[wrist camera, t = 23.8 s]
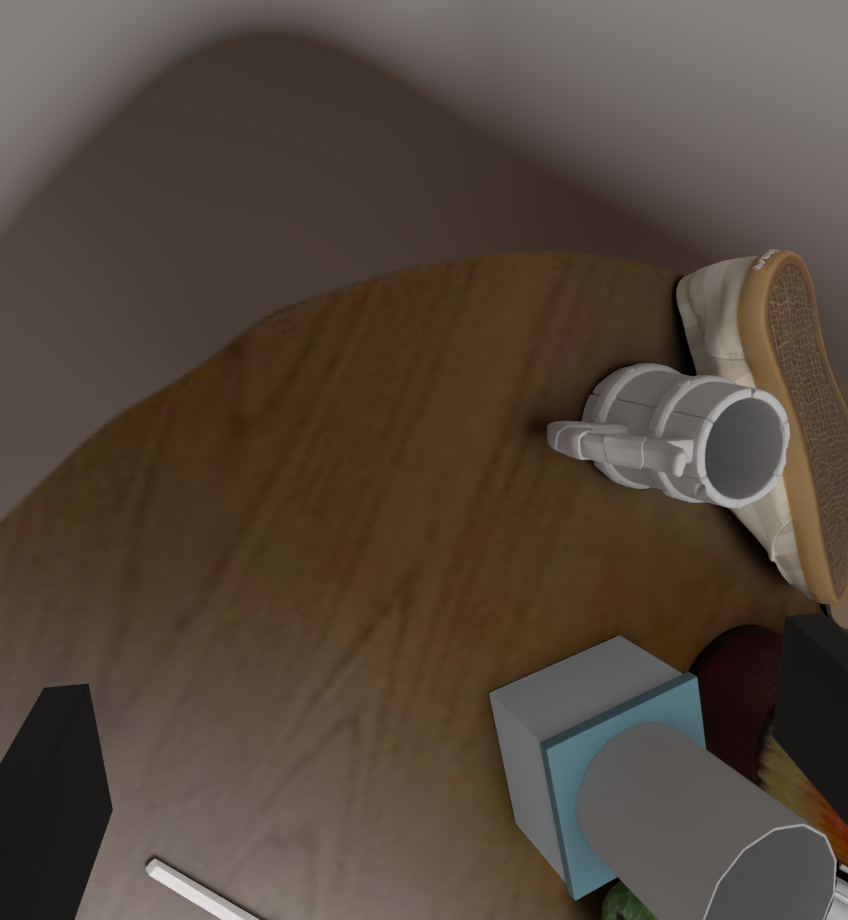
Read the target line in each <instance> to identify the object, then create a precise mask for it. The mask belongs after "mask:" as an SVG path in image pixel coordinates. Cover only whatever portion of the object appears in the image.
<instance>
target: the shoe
mask: <svg viewBox="0 0 848 920" xmlns="http://www.w3.org/2000/svg"><path fill="white" fill-rule="evenodd" d="M676 298H677V304H678V308H679V311H680V314H681V316H682V320H683V325H684V329H685V334H686V339H687V342H688V345H689V349H690V352H691V355H692V358H693V361H694V364H695V369H696V373H697V375H712V376H719V377H723V378H726V379H728V380H730V381H733V382H735V383H736V384H738V385H741V386H746V387H751V388H756V389H760V390H763V391H766V392H768V393H769V394H771V395H772V396H774V397H775V398H776V399H777V400H778V401H779V402H780V404H781V405H782V407H783V408H784V410H785V412H786V415H787V418H788V419H787V421H788V423H789V429H790V439H789V442H788V448H786V464H785V466H784V469H783V472H782V475H781V477H778V478H779V480H778V482H777V484H776V485H775V486H774V487H773V489H772V490H771V491H770V492H768V493H767V494H766V495H765V496H763V497H762V498H761V499H759V500H757V501H755V502H752V503H750V504H748V505H745V506H743V507H741V508H729V509H730V510H731V511H732V512H733V513H734V514H735V515H736V517H737V518H738V519H739V520H740V521H741V522H742V523H743V524H744V525H745V526H746V527H747V528H748V529H749V530H750V531H751V533H752V534H753V535H754V536H755V537H756V538H757V539H758V541H759V542H760V543H761V545H762V546H763V547H764V548H765V549H766V551H767V553H768V556H769V559H770V560H771V561H773V562H775V563H776V565H777V567H778V570H779V571H780V573H781V574H782V576H783V577H784V578H785V579H786V581H787V582H788V583H789V584H791V585H792V586H795V587H796V588H797V589H798V590H799V591H800V592H802V593H803V594H804V595H805V596H806V597H808V598H810V599H812V600H814V601H815V602H818V603H821V604H835V603H838V602H839V601H840V600H841V598H842V596H843V595H844V592H845V590H846V587H847V584H848V409H847V407H846V405H845V403H844V401H843V399H842V396H841V394H840V392H839V389H838V387H837V384H836V382H835V379H834V376H833V374H832V371H831V368H830V365H829V362H828V359H827V356H826V352H825V349H824V344H823V340H822V334H821V329H820V324H819V317H818V311H817V305H816V298H815V292H814V287H813V283H812V279H811V277H810V274H809V272H808V269H807V267H806V265H805V263H804V261H803V260H802V258H801V257H800V256H799V255H798V254H796V253H794V252H791V251H785V250H781V249H780V250H773V249H772V250H768V251H767V252H765V253H763V254H762V255H760V256H751V257H743V258H736V259H731V260H726V261H721V262H718V263H715V264H712V265H709V266H706V267H703V268H701V269H698V270H696V271H695V272H694V273H692V274H689V275H687V276H684V277H683V278H682V279H681V280H680V281H679V284H678V286H677V290H676Z"/></svg>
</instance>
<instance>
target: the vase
mask: <svg viewBox="0 0 848 920" xmlns="http://www.w3.org/2000/svg"><path fill="white" fill-rule="evenodd" d="M782 642H783V634H781V633H778V632H776V631H774V630H772V629H768V628H765V627H761V626H747V627H742V628H739V629H736V630H733V631H731V632H729V633H727V634H725V635H724V636H723V637H721V638H720V639H718V640H717V641H716V642H715V643H714V644H712V645H711V646H710V647H709V648H708V649H707V650H706V652H705V653H704V654H703V655H702V656H701V658H700V659H699V660H698V662H697V663H696V665H695V666H694V668H693V670H692V672H691V674H693V675H695V676H696V677H697V679H698V687H699V696H700V704H701V712H702V720H703V729H704V737H705V745H706V750H707V751H709V752H710V753H711V754H713V755H714V756H716V757H717V758H718V759H720V760H721V761H723V762H724V763H725V764H727V765H728V766H730V767H731V768H732V769H734V770H735V771H737V772H738V773H739V774H741V775H742V776H744V777H745V778H746V779H748V780H749V781H751V782H752V783H753V784H755V785H756V786H758V787H759V788H760V789H762V790H763V791H765V792H766V793H767V794H769V795H770V796H772V797H773V798H774V799H776V800H777V801H779V802H780V803H782V804H783V805H784V806H786V807H787V808H789V809H790V810H791V811H793V812H794V813H796V814H797V815H798V816H800V817H801V818H803V819H804V820H805V821H807V822H808V823H810V824H811V825H812V826H814V827H815V828H817V829H818V830H819V831H821V832H822V833H824V834H825V835H826V836H827V839H828V841H829V843H830V846H831V848H832V851H833V853H834V855H835V858H836V860H837V861H839V862H840V863H841V864H843V865H844V866H846V867H847V868H848V826H847V825H846V824H845V823H844V821H843V820H842V819H841V818H840V817H839V816H838V814H837V813H836V812H835V811H834V810H833V808H832V807H831V806H830V805H829V804H828V802H827V801H826V800H825V799H824V798H823V796H822V795H821V794H820V793H819V792H818V790H817V789H816V788H815V787H814V786H813V785H812V783H811V782H810V781H809V780H808V779H807V777H806V776H805V775H804V774H803V773H802V771H801V770H800V769H799V768H798V767H797V765H796V764H795V763H794V762H793V761H792V759H791V758H790V757H789V756H788V755H787V754H786V752H785V751H784V750H783V749H782V748H781V746H780V745H779V744H778V743H777V742H776V740H775V739H774V738H773V737H772V731H773V723H774V714H775V705H776V696H777V687H778V678H779V669H780V660H781V651H782Z"/></svg>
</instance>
